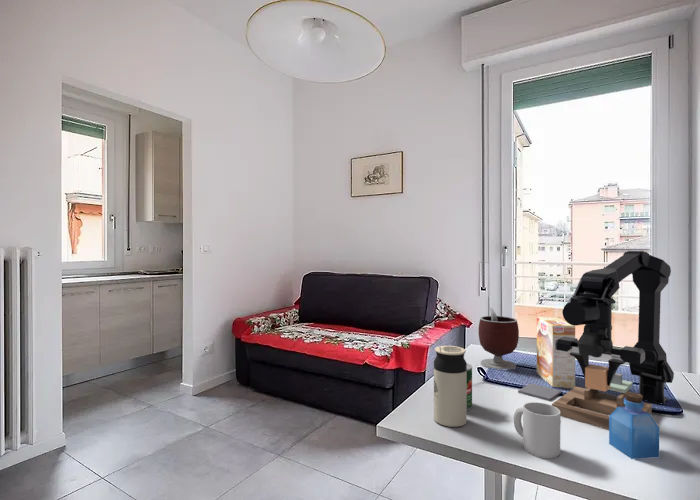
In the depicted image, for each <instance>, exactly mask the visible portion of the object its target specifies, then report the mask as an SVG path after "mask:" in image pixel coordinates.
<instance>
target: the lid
mask: <svg viewBox="0 0 700 500" xmlns="http://www.w3.org/2000/svg"><path fill="white" fill-rule="evenodd" d="M633 384H634V383H633V381H630V380H629V381H628V380H624V379H623V373H619V372H616V373H615V375H614V378H613V380H612V382H611V384H610V388H609V389H608V390H609V391H613V392H617V393H620V394H621V393H626V392H627V391H628V390H629V391H630V389H631V388H632V387H633ZM608 390H607V391H608Z"/></svg>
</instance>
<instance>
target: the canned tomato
mask: <svg viewBox="0 0 700 500" xmlns="http://www.w3.org/2000/svg"><path fill="white" fill-rule="evenodd" d="M472 408H473V366H472V364H469V363H467V411H469V410H471V409H472Z"/></svg>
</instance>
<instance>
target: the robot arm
mask: <svg viewBox="0 0 700 500" xmlns="http://www.w3.org/2000/svg"><path fill="white" fill-rule="evenodd" d="M671 273H672V269H671V266H670V265H669V264H668V263H667V261H665V260H664V259H662V258H659V257H656V256H654V255H650V253H649V252H647V251H644V250H628V251H625V252H623V255H621V256H620V257H618V258H616V259H615V260H614V261H612V262H610V264H608V265H606V266H605V267H603V268H599V269H592V270H590V271H586V272H584V273H583V274H582V276H581V278H580V279H579V281H578V284H577V286H576V288H575V290H574V293H573V295H572V297H570V300H569V302H568V303H566V304H565V305H564V306H563V309H562V317H563V319H564V321H565V322H567V323H569V324H571V325H574V326H575V327H576V326H583V332H582V334H581V336H580V337H579V339H578V338H577V337H575V338H570V337H562V338H559V339H558V340H556V343H555V349H556V350H560V351H566V352H568V351H569V350H570V349H571V353H570V355H572V356H574V357H575V360H577V362H578V365H579V367H580V370H581V371H582V374H583V377H584V379H585V367H587V366H588V365H590V361H589V360H590V359H589V358H590V357H593V358H601V357H602V356H603V355H609V356H610V357H611V358H610V359H608V360H607V362H608V367H609V369H608V377H607V385H608V386H610V384H611V382H612V380H613V378H614V375H615V373H617V371H618V369H619V368H620V366H621V365H624V364H625V363H628V365H629V371H630V375H632V376H637V377H638V380H639V383H638V385H639V386H638V388H639V389H638V393H637V394H640V395H642V396H643V398H642V401H644V400H646V402H649V401H651V402H650V403H653V402H657V403H662V404H664V403H665V404H666V402H667V401H668V399H667V398H668V397H667V396H665V384H667V383H669V384H672V383H673V381H674V377H675V376H674V375H675V372H674V371H673V369H672V367H671V366H670V364H669V363H668V360H667V353H666V351H665V350H664V348H663V347H662V345H661V344H660V335H661V334H660V331H661V330H660V328H661V299H662V298H661V296H662V291H663V290H664V289H665V288H666V286H667V285H668V284H669V280H670V279H669V278H670V276H671ZM630 275H632V282H633V283H634V285H635V286H636V288H637V290H638V292H639V293H638V294H639V295H638V296H639V297H638V327H637V328H638V329H637V342H636V343H635V344H634V346H627V345H625V346H624V347H622V348H618V347H617V348H616V347H614V345H613V339H612V331H613V325H612V324H613V323H612V318H613V317H612V313H613V312H612V306H613V305H614V304H616V300H615V299H614V298H613V296H614V295H615V294H616V293H617V292H618V291H619V290H620V288H621V286H620V282H621V281H623V280H625V279H626V278H627V277H629V276H630ZM612 304H613V305H612ZM666 400H667V401H666ZM665 401H666V402H665ZM657 403H656V404H657ZM662 404H661V405H662ZM665 404H664V405H665Z"/></svg>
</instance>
